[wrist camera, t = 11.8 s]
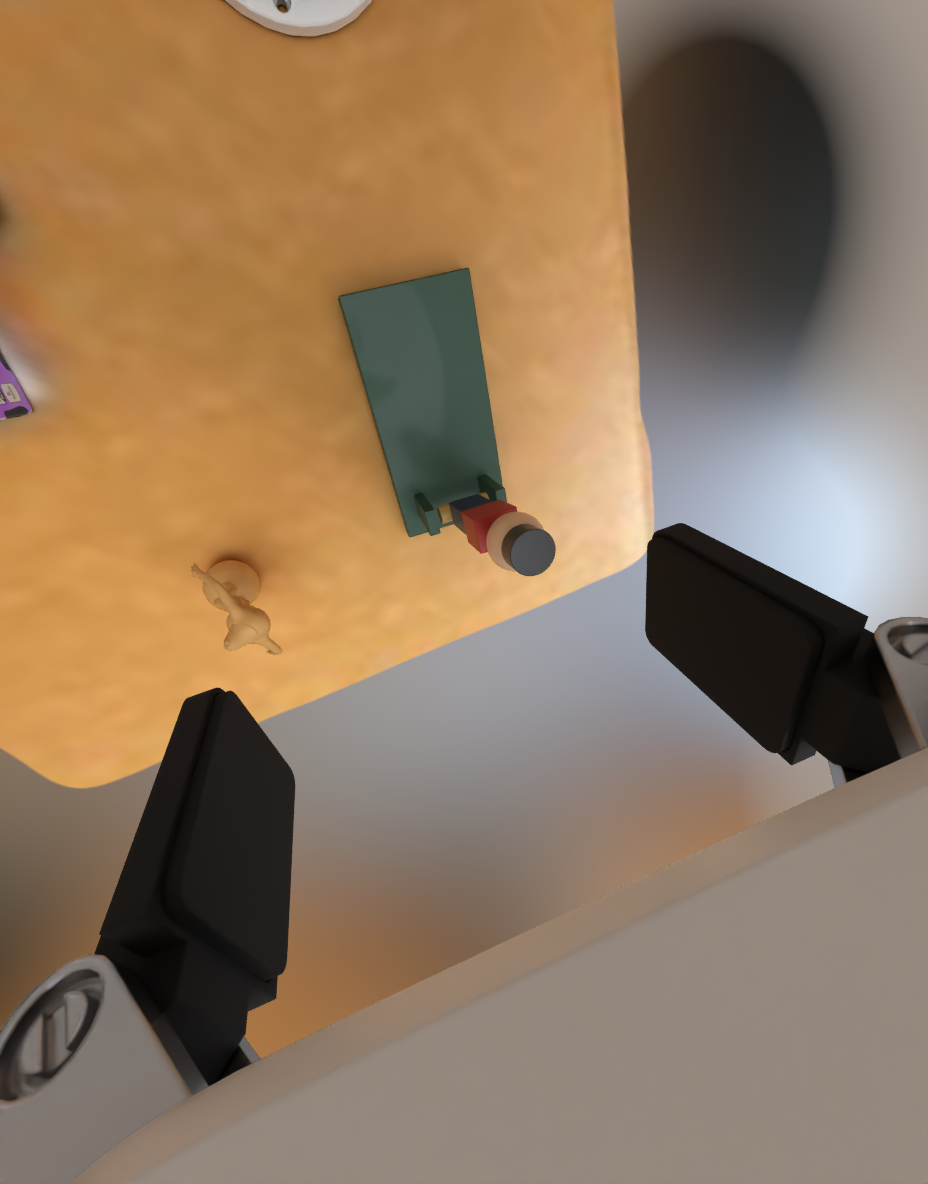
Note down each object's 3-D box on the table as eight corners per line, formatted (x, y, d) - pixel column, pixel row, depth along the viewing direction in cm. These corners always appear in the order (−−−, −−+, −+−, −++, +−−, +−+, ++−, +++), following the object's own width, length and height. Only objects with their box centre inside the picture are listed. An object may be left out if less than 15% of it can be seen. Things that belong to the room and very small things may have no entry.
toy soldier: (488, 534, 20) (502, 594, 22) (565, 510, 21) (574, 570, 22) (432, 493, 33) (442, 532, 35) (480, 479, 34) (489, 518, 35)
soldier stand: (337, 297, 29) (341, 288, 24) (464, 270, 30) (491, 255, 25) (407, 533, 38) (419, 558, 33) (501, 504, 39) (526, 524, 35)
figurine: (176, 546, 33) (115, 631, 23) (246, 508, 33) (215, 577, 23) (248, 621, 38) (223, 719, 28) (308, 588, 38) (305, 674, 28)
